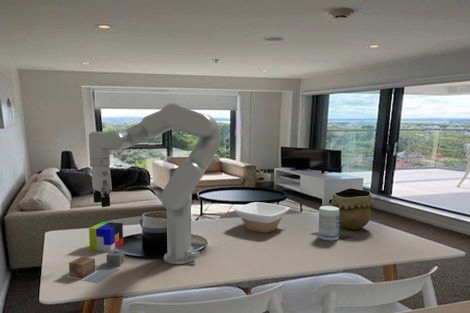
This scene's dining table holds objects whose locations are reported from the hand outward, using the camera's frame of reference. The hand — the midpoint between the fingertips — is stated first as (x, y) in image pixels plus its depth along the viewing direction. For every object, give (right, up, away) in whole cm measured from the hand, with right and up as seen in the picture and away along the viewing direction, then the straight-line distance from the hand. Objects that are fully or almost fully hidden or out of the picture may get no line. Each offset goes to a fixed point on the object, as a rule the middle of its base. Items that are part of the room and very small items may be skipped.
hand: (101, 204), depth 140 cm
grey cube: (+8, -23, -6) cm, 25 cm away
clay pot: (+115, -19, +42) cm, 124 cm away
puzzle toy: (-3, -21, +12) cm, 25 cm away
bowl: (+68, -18, +41) cm, 82 cm away
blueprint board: (+2, -23, -14) cm, 28 cm away
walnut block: (-1, -23, -16) cm, 28 cm away
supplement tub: (+99, -20, +26) cm, 104 cm away
